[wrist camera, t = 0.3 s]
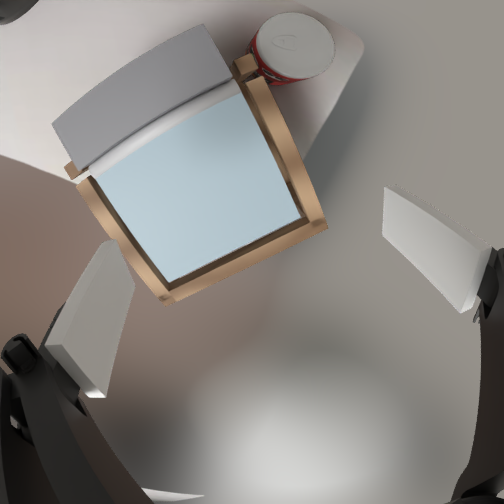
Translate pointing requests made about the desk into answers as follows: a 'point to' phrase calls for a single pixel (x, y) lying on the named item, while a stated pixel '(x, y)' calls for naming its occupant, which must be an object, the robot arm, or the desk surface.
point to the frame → (247, 255)
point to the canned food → (291, 48)
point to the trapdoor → (179, 155)
